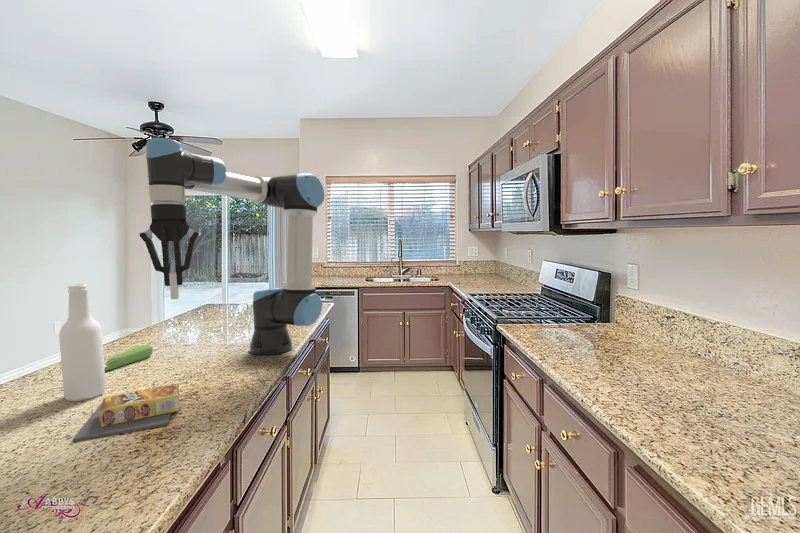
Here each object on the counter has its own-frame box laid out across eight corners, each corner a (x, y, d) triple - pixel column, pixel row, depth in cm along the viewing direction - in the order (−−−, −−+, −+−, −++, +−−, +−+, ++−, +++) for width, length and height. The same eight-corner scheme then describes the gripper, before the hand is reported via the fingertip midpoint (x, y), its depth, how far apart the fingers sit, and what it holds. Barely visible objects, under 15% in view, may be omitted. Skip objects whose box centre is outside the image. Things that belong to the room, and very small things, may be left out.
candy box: (179, 394, 92) (98, 409, 84) (179, 411, 93) (99, 428, 85) (178, 382, 100) (104, 395, 92) (178, 398, 100) (105, 412, 92)
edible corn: (158, 344, 140) (148, 340, 140) (103, 363, 120) (91, 358, 121) (155, 357, 140) (145, 353, 141) (100, 378, 121) (89, 373, 122)
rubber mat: (178, 393, 105) (178, 390, 105) (167, 425, 87) (167, 422, 87) (102, 404, 99) (102, 401, 99) (72, 441, 80) (72, 439, 80)
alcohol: (71, 404, 98) (63, 287, 96) (58, 397, 103) (49, 285, 101) (111, 393, 106) (104, 284, 104) (97, 386, 111) (90, 282, 108)
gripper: (198, 205, 102) (204, 294, 104) (140, 204, 96) (147, 298, 99) (196, 203, 95) (203, 298, 97) (133, 202, 90) (141, 303, 92)
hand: (175, 298), depth 98 cm, fingers closed
